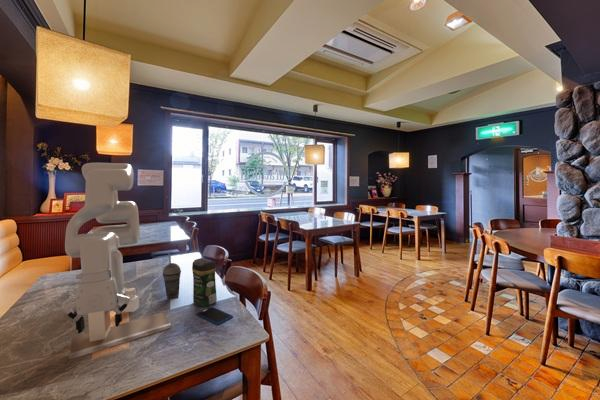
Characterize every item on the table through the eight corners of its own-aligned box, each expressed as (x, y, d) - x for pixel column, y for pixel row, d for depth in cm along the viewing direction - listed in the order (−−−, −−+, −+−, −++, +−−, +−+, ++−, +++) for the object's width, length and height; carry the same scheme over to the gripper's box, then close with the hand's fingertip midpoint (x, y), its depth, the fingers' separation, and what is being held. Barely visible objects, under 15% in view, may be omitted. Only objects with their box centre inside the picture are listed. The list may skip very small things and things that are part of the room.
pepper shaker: (129, 310, 103) (128, 287, 102) (139, 310, 103) (138, 287, 102) (123, 316, 99) (121, 291, 98) (134, 315, 99) (133, 291, 98)
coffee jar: (190, 302, 109) (188, 259, 108) (206, 296, 116) (205, 255, 114) (203, 309, 103) (201, 263, 102) (219, 302, 110) (218, 259, 109)
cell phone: (211, 307, 105) (211, 306, 105) (234, 318, 97) (234, 316, 97) (195, 315, 100) (195, 313, 99) (217, 326, 91) (217, 324, 91)
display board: (69, 364, 72) (68, 356, 72) (73, 341, 82) (72, 334, 82) (171, 331, 88) (171, 324, 88) (163, 316, 98) (163, 309, 98)
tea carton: (89, 341, 80) (87, 313, 79) (96, 331, 86) (94, 305, 85) (105, 338, 82) (104, 310, 81) (111, 328, 87) (109, 302, 87)
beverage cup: (174, 302, 109) (172, 256, 108) (159, 301, 111) (157, 255, 109) (185, 295, 116) (184, 251, 115) (171, 294, 118) (169, 251, 117)
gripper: (56, 284, 76) (60, 340, 77) (126, 275, 82) (129, 327, 83) (68, 275, 82) (71, 327, 84) (131, 268, 89) (133, 316, 90)
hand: (100, 327), depth 83 cm, fingers open, 9 cm apart
